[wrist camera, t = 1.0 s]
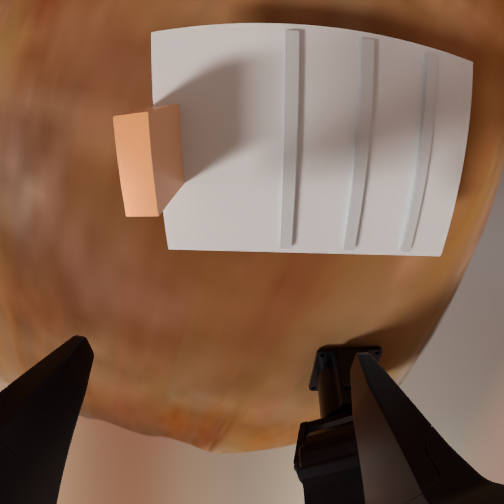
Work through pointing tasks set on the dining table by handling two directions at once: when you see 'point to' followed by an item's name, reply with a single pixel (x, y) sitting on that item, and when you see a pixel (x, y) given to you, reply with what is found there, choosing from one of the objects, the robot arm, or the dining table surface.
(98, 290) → the dining table surface
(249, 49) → the lid
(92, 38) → the dining table surface
